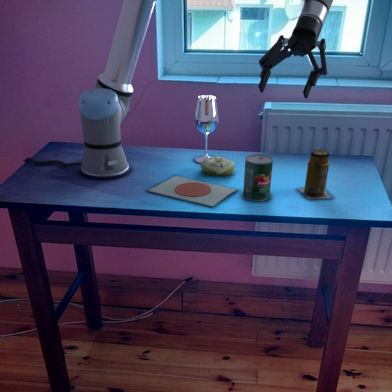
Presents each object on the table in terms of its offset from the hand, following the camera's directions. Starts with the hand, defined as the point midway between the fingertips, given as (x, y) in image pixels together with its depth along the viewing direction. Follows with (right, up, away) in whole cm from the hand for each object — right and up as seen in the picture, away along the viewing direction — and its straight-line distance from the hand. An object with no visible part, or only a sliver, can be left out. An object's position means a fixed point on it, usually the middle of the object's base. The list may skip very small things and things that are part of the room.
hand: (282, 92), depth 150 cm
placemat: (-25, -25, +10) cm, 37 cm away
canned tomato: (-6, -27, +8) cm, 29 cm away
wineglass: (-21, -8, +33) cm, 40 cm away
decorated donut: (-17, -15, +24) cm, 33 cm away
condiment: (+11, -26, +9) cm, 30 cm away
